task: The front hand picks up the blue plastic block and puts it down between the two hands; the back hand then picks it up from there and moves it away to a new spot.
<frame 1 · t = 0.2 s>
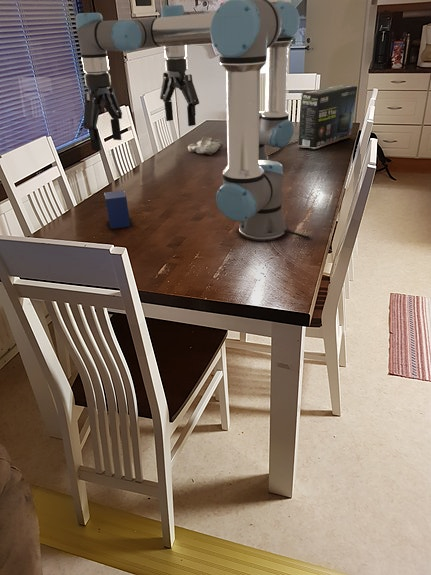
front hand: (107, 144, 148), 27 cm above the table, tool pointing down, fingers open, 13 cm apart
back hand: (180, 123, 167), 28 cm above the table, tool pointing down, fingers open, 13 cm apart
router box: (325, 143, 245), on the table
block: (119, 224, 160), on the table
handgun: (254, 190, 184), on the table
fossil: (204, 151, 239), on the table
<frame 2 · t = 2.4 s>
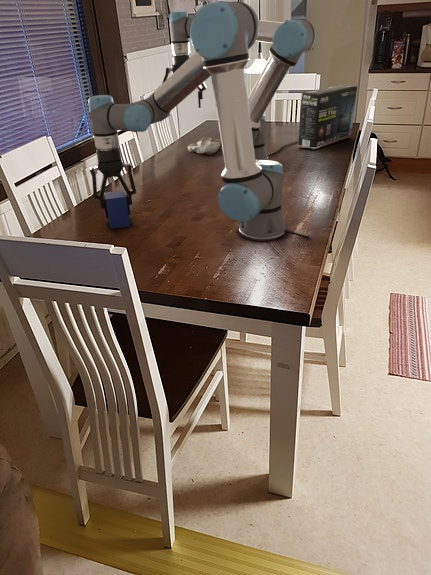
front hand: (118, 215, 158), 3 cm above the table, tool pointing down, fingers closed on block, 7 cm apart
back hand: (184, 107, 204), 26 cm above the table, tool pointing down, fingers open, 13 cm apart
block: (119, 224, 160), on the table, touching front hand
everything else where it was.
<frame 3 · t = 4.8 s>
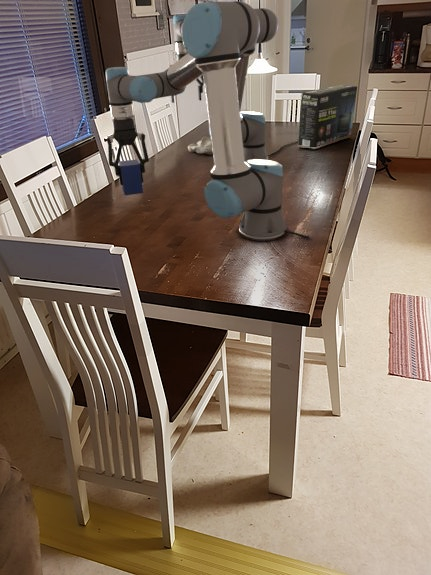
front hand: (131, 182, 168), 10 cm above the table, tool pointing down, fingers closed on block, 7 cm apart
back hand: (186, 101, 225), 25 cm above the table, tool pointing down, fingers open, 13 cm apart
block: (132, 191, 170), point 6 cm above the table, touching front hand
everything else where it was.
when the front hand's fingers open (5 cm above the table, at t = 7.1 s): block drops 2 cm, on the table.
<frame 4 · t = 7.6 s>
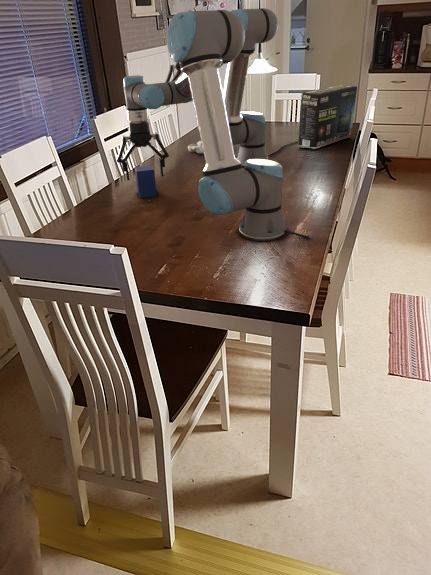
front hand: (145, 177, 182), 7 cm above the table, tool pointing down, fingers open, 13 cm apart
back hand: (186, 101, 225), 25 cm above the table, tool pointing down, fingers open, 13 cm apart
block: (147, 194, 185), on the table
everything else where it was.
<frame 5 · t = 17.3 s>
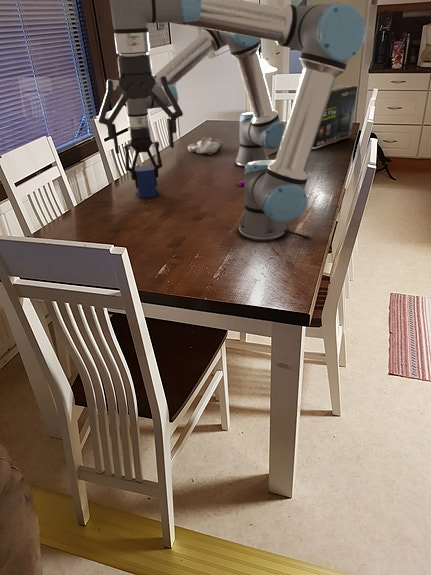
front hand: (144, 149, 115), 33 cm above the table, tool pointing down, fingers open, 13 cm apart
back hand: (146, 186, 184), 3 cm above the table, tool pointing down, fingers closed on block, 7 cm apart
block: (147, 194, 185), on the table, touching back hand
everything else where it was.
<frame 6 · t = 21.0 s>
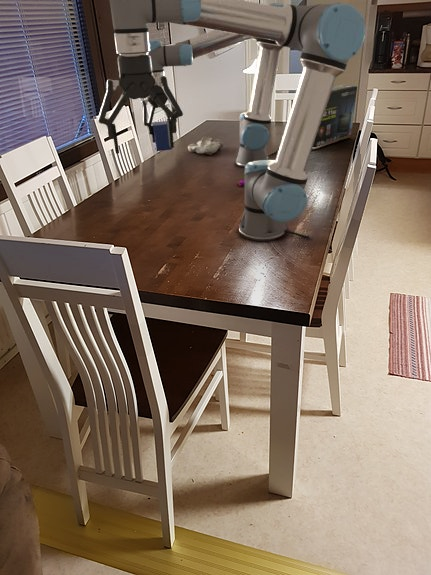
front hand: (144, 149, 115), 33 cm above the table, tool pointing down, fingers open, 13 cm apart
back hand: (162, 140, 198), 15 cm above the table, tool pointing down, fingers closed on block, 7 cm apart
block: (162, 148, 200), point 12 cm above the table, touching back hand
everything else where it was.
when the back hand's fingers open (5 cm above the table, at t = 24.6 s): block drops 2 cm, on the table.
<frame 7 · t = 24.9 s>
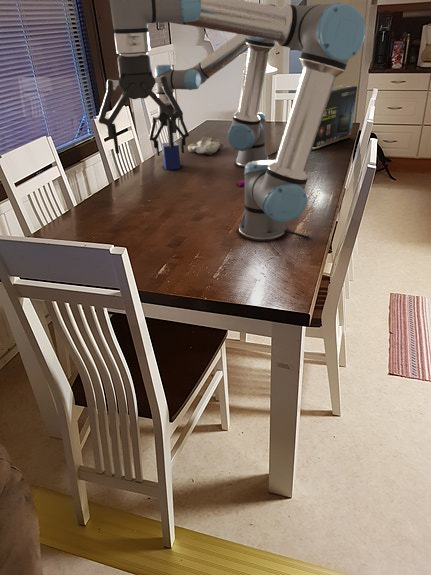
front hand: (144, 149, 115), 33 cm above the table, tool pointing down, fingers open, 13 cm apart
back hand: (170, 153, 213), 6 cm above the table, tool pointing down, fingers open, 11 cm apart
block: (171, 167, 217), on the table
everything else where it was.
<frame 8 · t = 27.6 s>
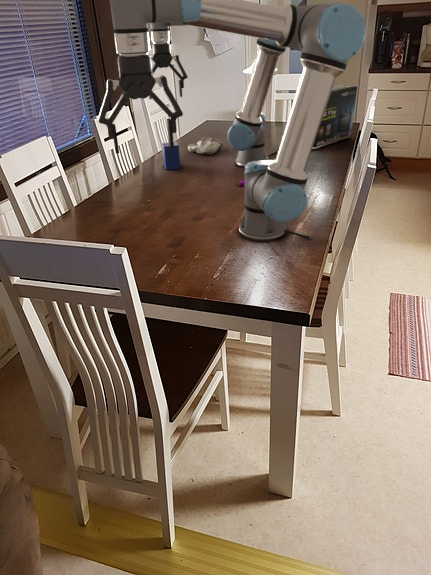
front hand: (144, 149, 115), 33 cm above the table, tool pointing down, fingers open, 13 cm apart
back hand: (165, 97, 201), 31 cm above the table, tool pointing down, fingers open, 13 cm apart
nothing on the table moved.
at the end: block inside the target area (0.2 cm from its centre), on the table; block tilted 0°; the two hands never held the block at the same time; the front hand is holding nothing; the back hand is holding nothing; block at rest at the end (0.0 cm/s) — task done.
